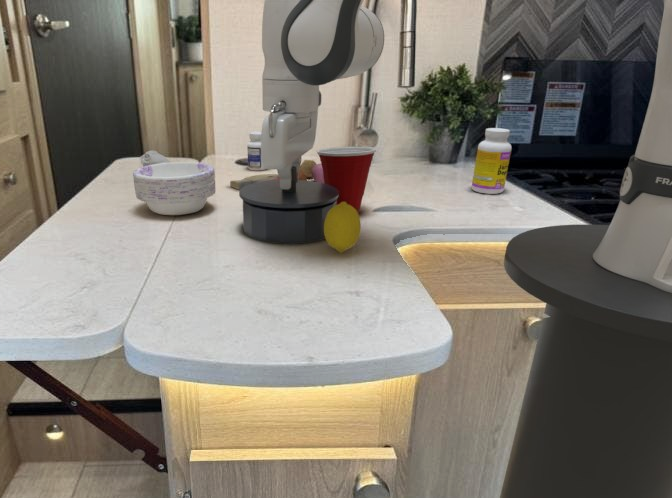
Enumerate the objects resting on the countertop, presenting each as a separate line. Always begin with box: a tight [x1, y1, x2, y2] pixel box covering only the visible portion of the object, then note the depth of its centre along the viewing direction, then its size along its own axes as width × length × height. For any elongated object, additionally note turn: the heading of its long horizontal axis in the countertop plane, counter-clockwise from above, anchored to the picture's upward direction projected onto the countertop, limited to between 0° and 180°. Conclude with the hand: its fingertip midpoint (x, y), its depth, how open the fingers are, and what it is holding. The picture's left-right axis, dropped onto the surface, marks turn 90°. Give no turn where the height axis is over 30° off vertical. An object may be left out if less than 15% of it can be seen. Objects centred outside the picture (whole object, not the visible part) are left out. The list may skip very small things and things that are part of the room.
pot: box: [242, 199, 337, 245], centre depth 94 cm, size 16×16×5 cm
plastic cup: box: [316, 146, 377, 213], centre depth 101 cm, size 11×11×12 cm
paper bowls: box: [132, 161, 216, 216], centre depth 104 cm, size 15×15×8 cm
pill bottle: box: [246, 131, 267, 171], centre depth 137 cm, size 5×5×9 cm
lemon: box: [324, 202, 362, 254], centre depth 82 cm, size 6×6×8 cm
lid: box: [238, 166, 339, 208], centre depth 91 cm, size 17×17×5 cm
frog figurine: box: [139, 149, 171, 167], centre depth 125 cm, size 6×7×7 cm
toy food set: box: [229, 159, 324, 191], centre depth 124 cm, size 26×16×4 cm, turn 135°
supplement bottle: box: [471, 127, 513, 195], centre depth 115 cm, size 7×7×13 cm
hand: (289, 185), depth 91 cm, fingers closed on lid, 2 cm apart
